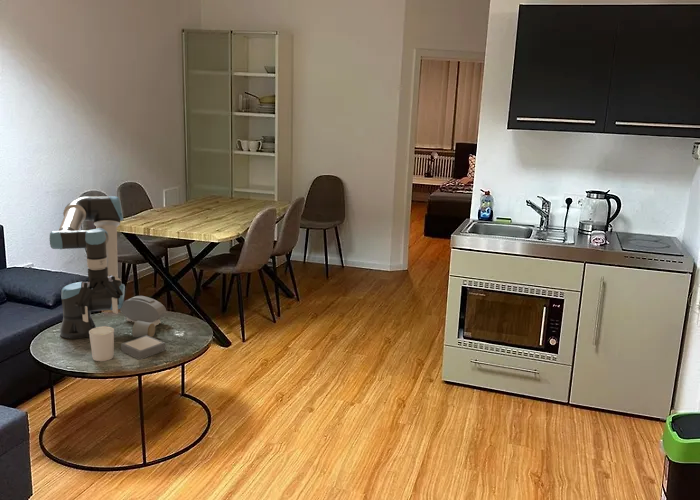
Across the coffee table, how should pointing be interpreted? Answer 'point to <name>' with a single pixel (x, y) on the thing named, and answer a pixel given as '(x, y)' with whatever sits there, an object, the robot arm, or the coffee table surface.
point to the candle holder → (102, 343)
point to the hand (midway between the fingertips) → (100, 317)
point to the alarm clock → (143, 310)
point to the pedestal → (143, 347)
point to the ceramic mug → (143, 329)
